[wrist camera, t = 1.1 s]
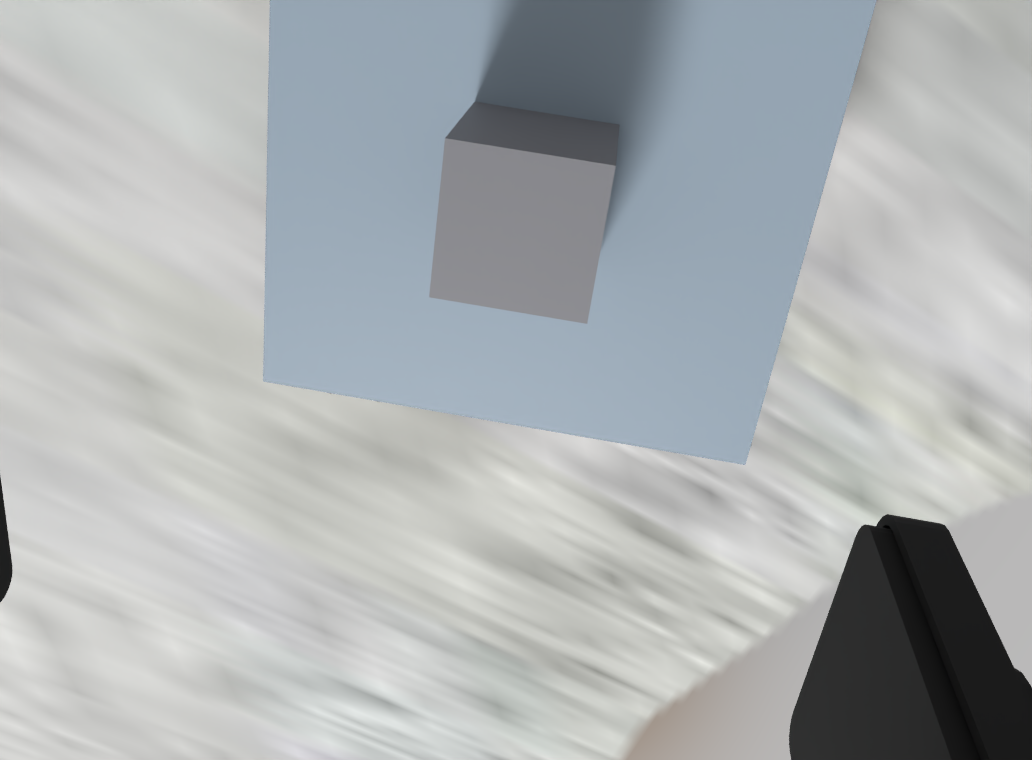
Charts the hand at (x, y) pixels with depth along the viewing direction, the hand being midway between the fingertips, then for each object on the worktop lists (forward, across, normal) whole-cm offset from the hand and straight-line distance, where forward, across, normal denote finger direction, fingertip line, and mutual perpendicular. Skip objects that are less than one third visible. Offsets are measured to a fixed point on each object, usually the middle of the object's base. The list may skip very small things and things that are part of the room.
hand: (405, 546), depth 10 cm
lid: (+16, 0, 0) cm, 16 cm away
